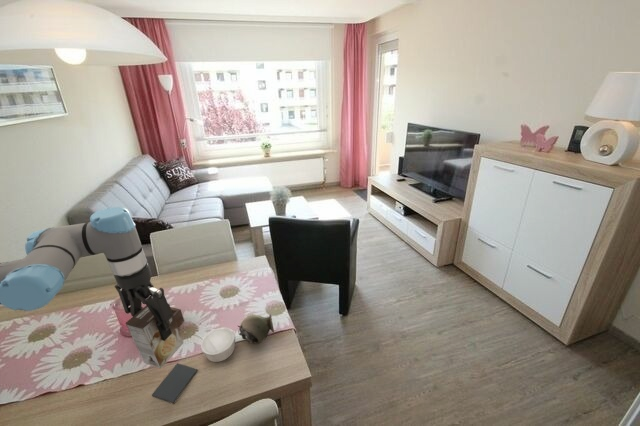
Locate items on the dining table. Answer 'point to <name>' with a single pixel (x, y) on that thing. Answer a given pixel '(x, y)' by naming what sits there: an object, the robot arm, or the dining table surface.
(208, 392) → the dining table surface
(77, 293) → the dining table surface
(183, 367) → the mat
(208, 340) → the ramekin
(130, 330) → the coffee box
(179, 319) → the holder
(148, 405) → the dining table surface
